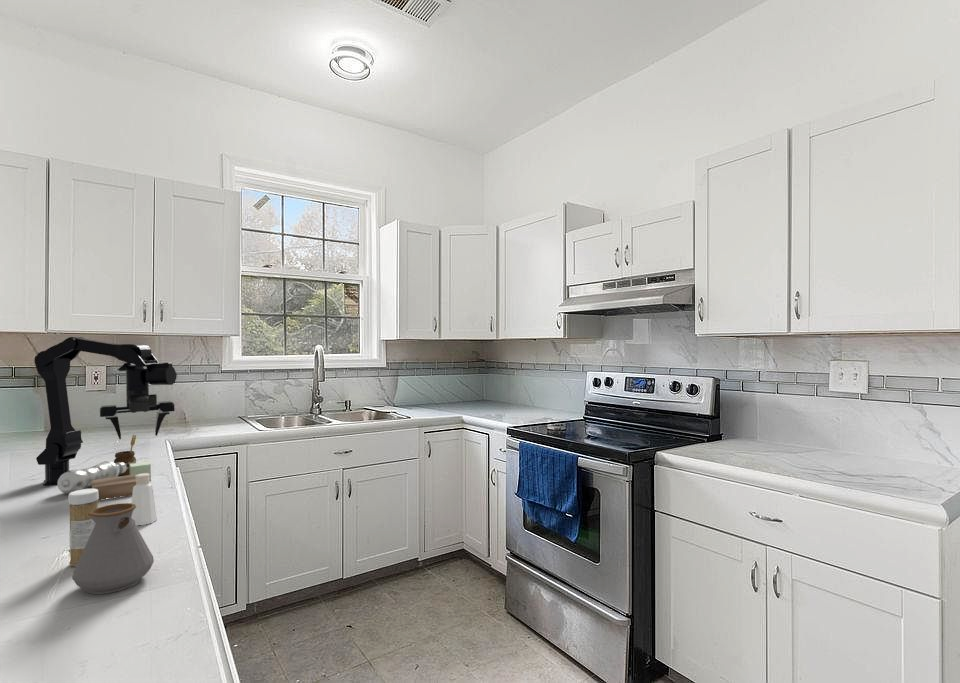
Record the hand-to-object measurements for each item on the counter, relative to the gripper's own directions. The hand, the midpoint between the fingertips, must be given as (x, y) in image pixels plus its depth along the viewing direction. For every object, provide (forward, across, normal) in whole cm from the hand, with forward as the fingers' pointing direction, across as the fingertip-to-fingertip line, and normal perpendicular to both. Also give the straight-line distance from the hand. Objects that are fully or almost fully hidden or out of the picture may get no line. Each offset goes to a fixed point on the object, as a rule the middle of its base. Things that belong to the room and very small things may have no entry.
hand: (138, 437), depth 161 cm
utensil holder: (+13, -3, +12) cm, 18 cm away
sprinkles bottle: (+13, -13, -66) cm, 68 cm away
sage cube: (+13, 0, 0) cm, 13 cm away
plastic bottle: (+10, -18, -7) cm, 21 cm away
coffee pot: (+13, -8, -85) cm, 86 cm away
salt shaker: (+13, -2, -46) cm, 48 cm away
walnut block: (+14, -6, -13) cm, 20 cm away
